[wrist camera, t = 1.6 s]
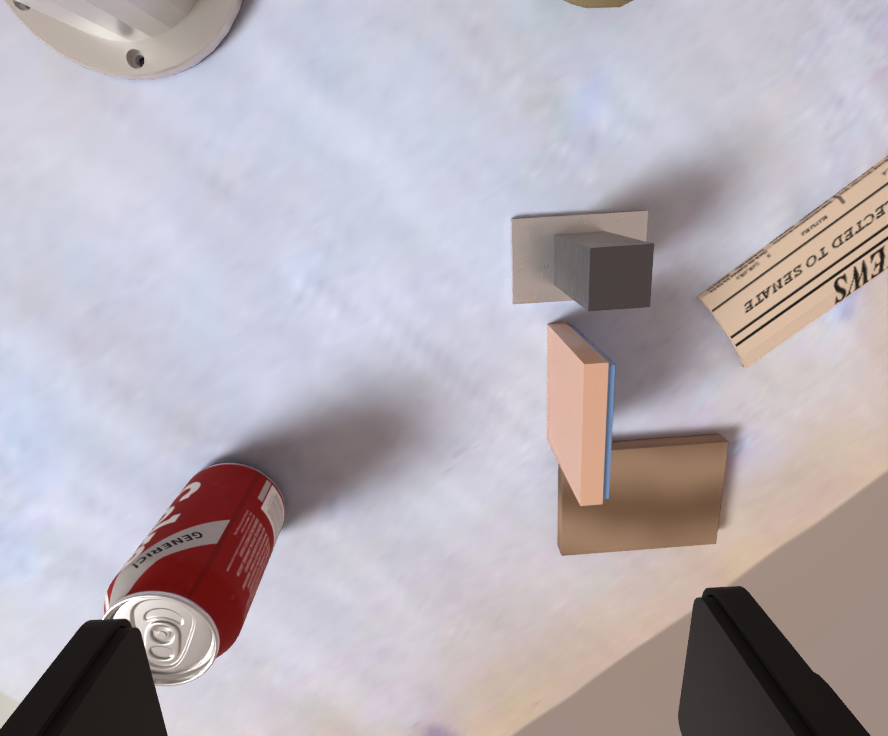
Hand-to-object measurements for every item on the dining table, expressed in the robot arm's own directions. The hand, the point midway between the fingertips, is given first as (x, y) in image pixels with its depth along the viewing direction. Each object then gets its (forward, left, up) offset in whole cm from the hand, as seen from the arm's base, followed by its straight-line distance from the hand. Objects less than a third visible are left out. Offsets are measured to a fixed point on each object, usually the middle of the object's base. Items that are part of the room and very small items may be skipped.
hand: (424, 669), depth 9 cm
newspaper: (-4, +29, -27) cm, 39 cm away
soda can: (+12, -13, -26) cm, 31 cm away
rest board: (+13, +14, -26) cm, 32 cm away
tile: (+5, +9, -26) cm, 28 cm away
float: (-3, +10, -26) cm, 28 cm away
